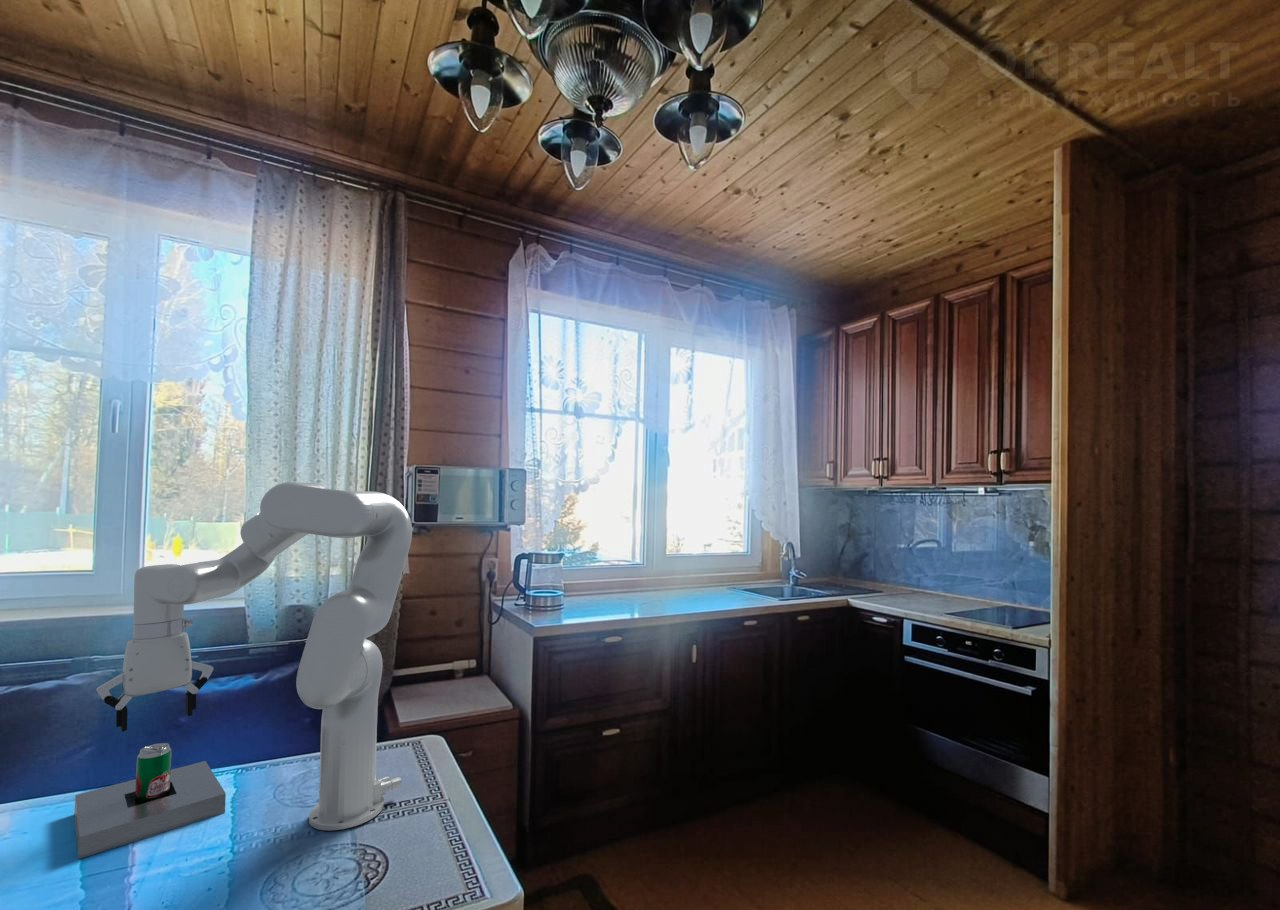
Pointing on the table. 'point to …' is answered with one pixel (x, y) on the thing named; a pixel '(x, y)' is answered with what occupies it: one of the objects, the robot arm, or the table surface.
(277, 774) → the table surface
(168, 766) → the soda can
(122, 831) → the bore block
